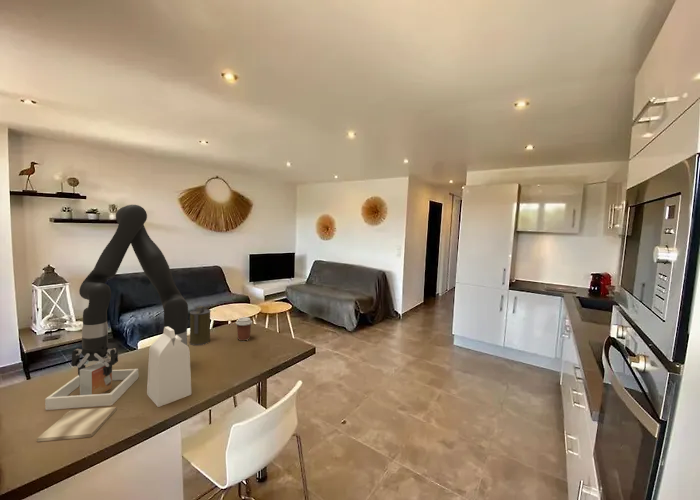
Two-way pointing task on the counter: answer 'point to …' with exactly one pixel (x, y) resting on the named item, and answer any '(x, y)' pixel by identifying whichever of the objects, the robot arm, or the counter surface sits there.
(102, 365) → the small box
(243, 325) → the coffee cup
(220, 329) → the counter surface
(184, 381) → the milk
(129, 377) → the bin
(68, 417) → the board
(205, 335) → the canister
